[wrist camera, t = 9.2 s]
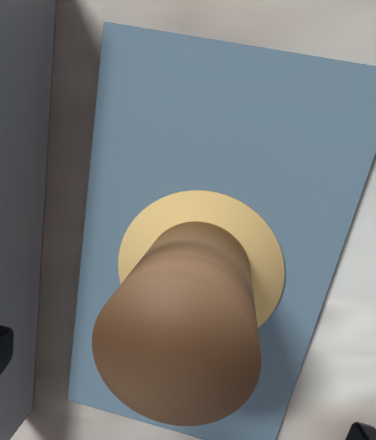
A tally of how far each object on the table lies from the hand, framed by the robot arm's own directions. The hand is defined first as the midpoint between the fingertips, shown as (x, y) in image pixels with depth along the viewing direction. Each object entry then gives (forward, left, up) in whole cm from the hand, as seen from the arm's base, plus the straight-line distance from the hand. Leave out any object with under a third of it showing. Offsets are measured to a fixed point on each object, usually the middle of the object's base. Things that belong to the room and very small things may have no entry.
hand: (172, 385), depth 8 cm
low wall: (0, +9, -8) cm, 12 cm away
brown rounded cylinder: (0, 0, -7) cm, 7 cm away
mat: (0, 0, -8) cm, 8 cm away
